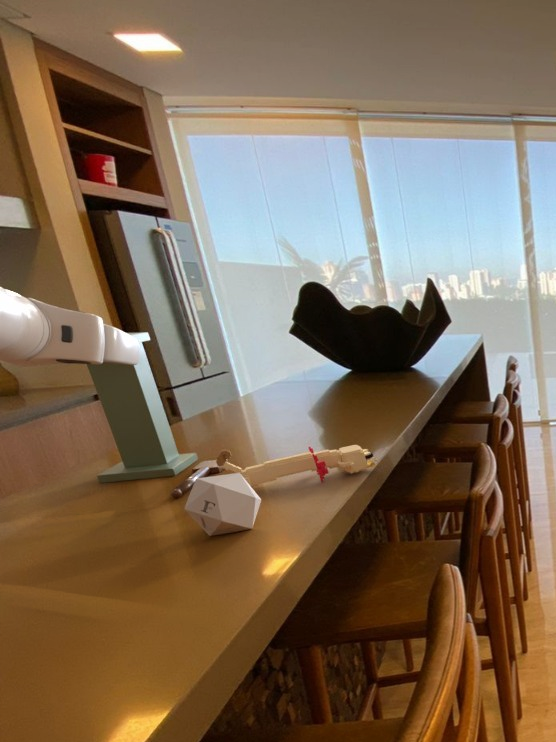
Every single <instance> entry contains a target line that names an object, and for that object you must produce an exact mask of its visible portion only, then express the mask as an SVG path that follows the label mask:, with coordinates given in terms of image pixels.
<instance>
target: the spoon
mask: <svg viewBox="0 0 556 742" xmlns="http://www.w3.org/2000/svg"><path fill="white" fill-rule="evenodd" d="M216 460H217V459H211V460H209V459H208V460H202V461H201V462H200V463H198V464H197V465H196V466H194V467H193V468H192V469H191V470H192V474H191V475H190V476H188V477H187V478H186V479H185V480H184V481H182V482H181V483H179V484H178V485H177V486H176V487H175V488H173V489H172V490H171V491H170V496H171V498H174V499H179V498H182V497H183V496H184V495H185V494H186V493H188V492H189V491H190V490H192V488H193V485H194V483H195V480H196V479H197V478H204V477H207V476H208V475H209V474H219V473H222V471H223V470H224V469H223V467H222V468H220V466H217V463H216ZM225 462H228V463H230V461H229V459H227V461H225Z"/></svg>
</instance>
